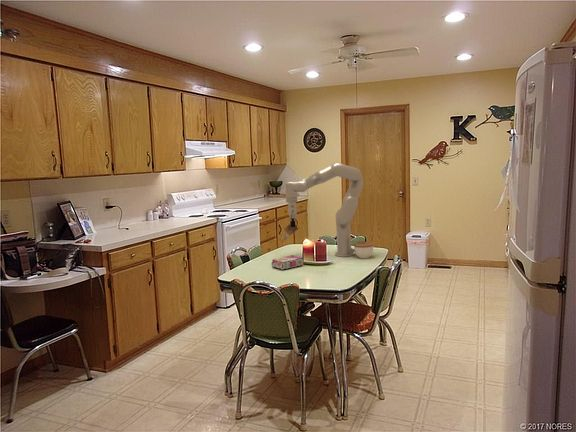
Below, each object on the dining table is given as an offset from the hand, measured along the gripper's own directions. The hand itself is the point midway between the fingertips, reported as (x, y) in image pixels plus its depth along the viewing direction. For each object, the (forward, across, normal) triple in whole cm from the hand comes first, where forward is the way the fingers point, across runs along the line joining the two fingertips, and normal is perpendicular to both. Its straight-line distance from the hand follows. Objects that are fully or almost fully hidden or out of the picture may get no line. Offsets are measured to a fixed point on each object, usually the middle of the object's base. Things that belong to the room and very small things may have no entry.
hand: (292, 226), depth 305 cm
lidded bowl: (+21, -15, -45) cm, 52 cm away
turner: (+5, 0, +2) cm, 5 cm away
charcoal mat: (+21, -20, +8) cm, 31 cm away
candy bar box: (+18, -22, -1) cm, 28 cm away
